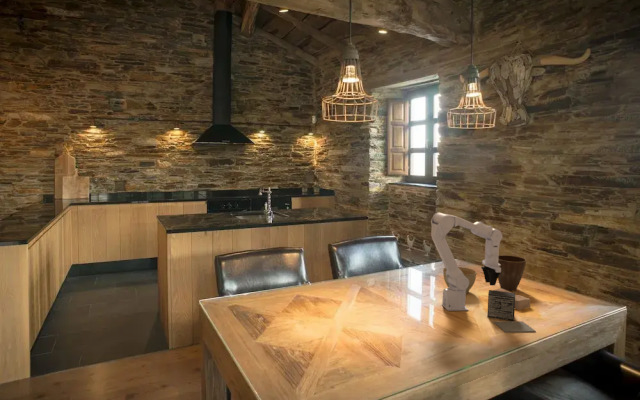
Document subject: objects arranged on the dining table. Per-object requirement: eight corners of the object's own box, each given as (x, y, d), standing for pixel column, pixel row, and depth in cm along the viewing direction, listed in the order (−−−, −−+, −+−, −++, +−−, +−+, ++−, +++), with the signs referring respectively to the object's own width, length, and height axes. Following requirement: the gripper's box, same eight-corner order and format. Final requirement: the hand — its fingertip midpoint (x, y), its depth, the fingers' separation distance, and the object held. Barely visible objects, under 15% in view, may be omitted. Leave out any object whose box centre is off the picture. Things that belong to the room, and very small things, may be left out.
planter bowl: (478, 290, 213) (479, 269, 212) (471, 298, 200) (472, 276, 199) (447, 284, 222) (448, 264, 221) (438, 292, 209) (439, 271, 207)
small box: (514, 316, 178) (515, 292, 177) (514, 321, 172) (515, 297, 171) (487, 312, 183) (489, 289, 182) (486, 317, 177) (488, 293, 176)
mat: (505, 332, 161) (505, 331, 161) (494, 322, 171) (494, 321, 171) (535, 332, 162) (535, 330, 162) (522, 322, 171) (522, 321, 171)
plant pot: (496, 282, 227) (498, 253, 225) (526, 287, 218) (528, 257, 217) (489, 289, 215) (491, 259, 213) (521, 295, 206) (523, 263, 204)
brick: (531, 307, 189) (531, 297, 189) (518, 310, 186) (519, 300, 185) (500, 297, 204) (501, 287, 204) (488, 299, 200) (489, 290, 200)
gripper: (508, 258, 181) (506, 288, 182) (492, 250, 195) (491, 279, 197) (492, 258, 181) (491, 288, 182) (478, 250, 195) (476, 279, 196)
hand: (490, 283), depth 189 cm, fingers open, 4 cm apart
